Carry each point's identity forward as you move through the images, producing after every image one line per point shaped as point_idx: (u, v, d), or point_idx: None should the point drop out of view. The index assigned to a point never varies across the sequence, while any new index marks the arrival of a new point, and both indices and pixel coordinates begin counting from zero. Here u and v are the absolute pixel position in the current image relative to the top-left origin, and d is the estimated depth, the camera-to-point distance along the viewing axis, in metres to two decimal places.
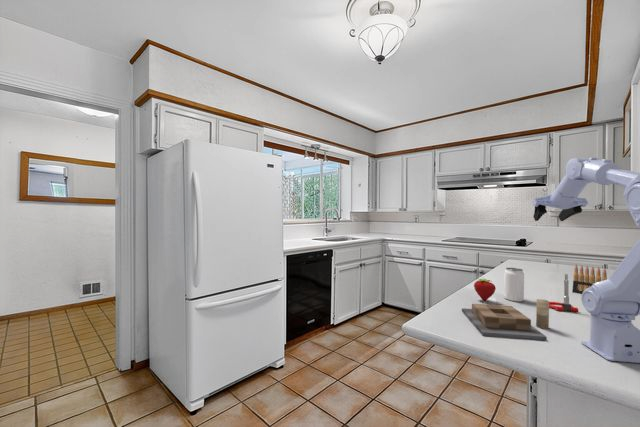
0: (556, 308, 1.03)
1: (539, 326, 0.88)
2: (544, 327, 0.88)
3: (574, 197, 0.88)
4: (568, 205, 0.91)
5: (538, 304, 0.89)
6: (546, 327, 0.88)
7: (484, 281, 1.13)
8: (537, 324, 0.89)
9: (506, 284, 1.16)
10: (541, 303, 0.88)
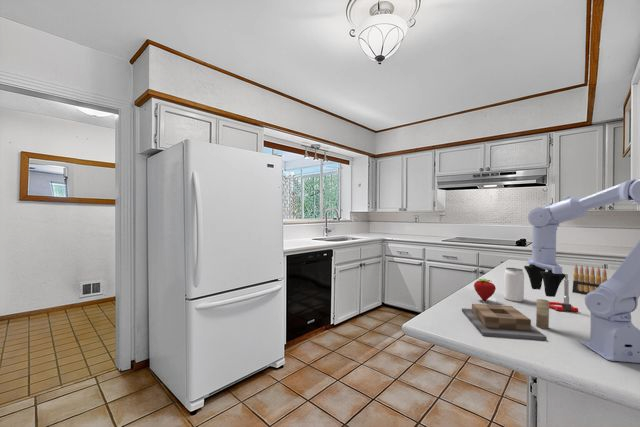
0: (556, 308, 1.03)
1: (539, 326, 0.88)
2: (544, 327, 0.88)
3: None
4: None
5: (538, 304, 0.89)
6: (546, 327, 0.88)
7: (484, 281, 1.13)
8: (537, 324, 0.89)
9: (506, 284, 1.16)
10: (541, 303, 0.88)
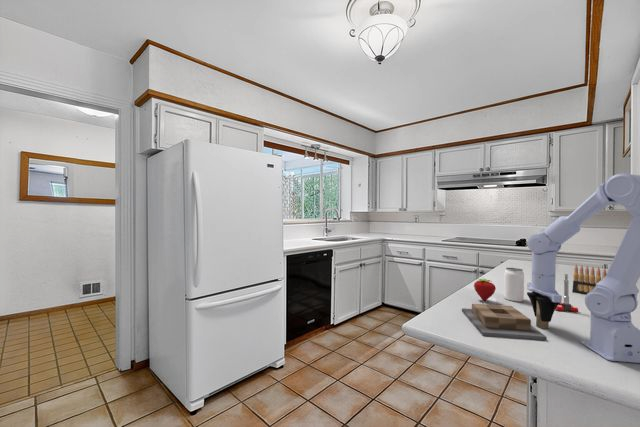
0: (556, 308, 1.03)
1: (539, 326, 0.88)
2: (544, 327, 0.88)
3: None
4: None
5: None
6: (546, 327, 0.88)
7: (484, 281, 1.13)
8: (537, 324, 0.89)
9: (506, 284, 1.16)
10: None
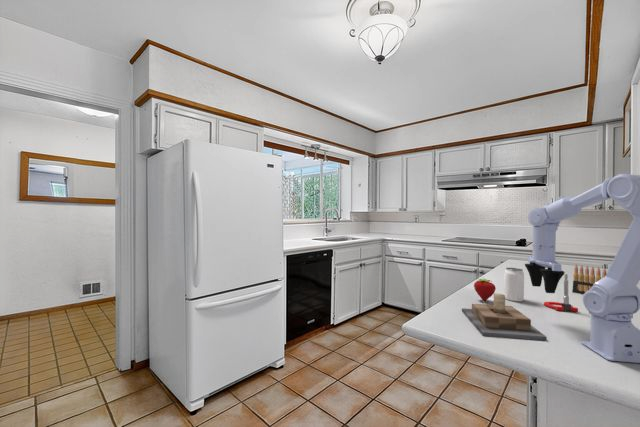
0: (556, 308, 1.03)
1: None
2: None
3: None
4: None
5: (495, 298, 0.91)
6: None
7: (484, 281, 1.13)
8: None
9: (506, 284, 1.16)
10: (497, 297, 0.90)
